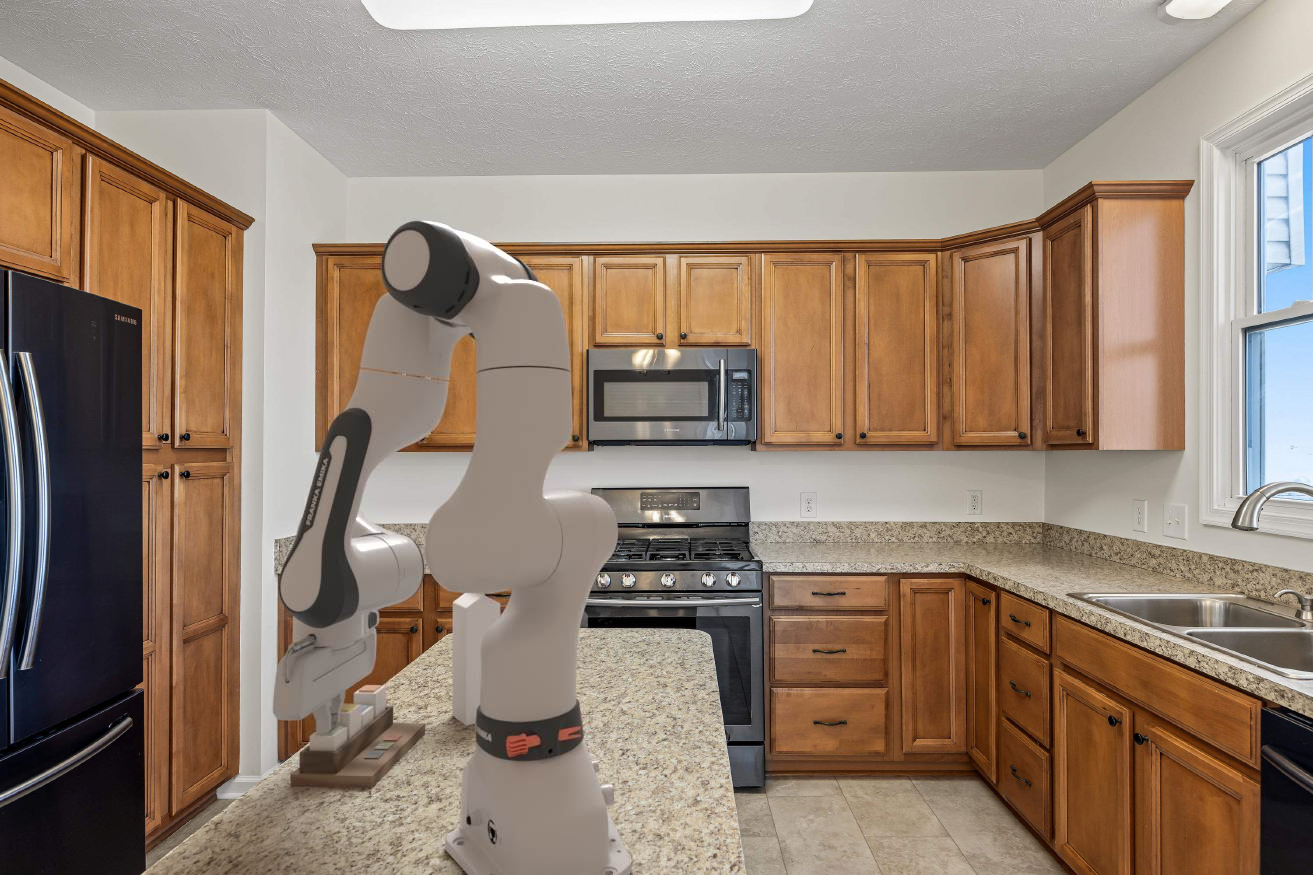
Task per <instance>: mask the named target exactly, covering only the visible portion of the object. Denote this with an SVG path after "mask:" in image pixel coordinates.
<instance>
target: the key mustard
mask: <svg viewBox="0 0 1313 875" xmlns="http://www.w3.org/2000/svg"><path fill="white" fill-rule="evenodd" d="M337 726H342V727H347V741H349V740H350V739H351V738H352V737H354V736H355V735H356V734H357V733H358V732H360V731H361V705H359V704H354V703H345V702H343V705H342V708H341V711H340V723H339V724H338V725H337Z"/></svg>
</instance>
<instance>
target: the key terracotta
mask: <svg viewBox="0 0 1313 875" xmlns="http://www.w3.org/2000/svg"><path fill="white" fill-rule="evenodd" d="M386 690H387V687H386V686H385V685H382V684H380V685H379V684H365V685H363V686H362V687H361V688H359V689H358V690H356V691H355V692H353V704H359V705H369V706H374V719H375V718H377V717H378V716H379V715H380V714H382V713H383V712H384V711H385V710H386V706H387V705H386V703H387V701H386V700H387V699H386V698H387V697H386V696H387V694H386V693H387V692H386Z"/></svg>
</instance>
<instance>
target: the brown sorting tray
mask: <svg viewBox="0 0 1313 875" xmlns="http://www.w3.org/2000/svg"><path fill="white" fill-rule="evenodd" d="M425 734H426V723H425V722H424V723H423V722H417V723H416V722H394V706H391V705H389V706H387V705H386V710H385V711H384V712H383V713H382V714H380V715H379V716H378V717H377V718H375V719H374V720H373V721H372V722H371V723H369V724H368V725H367V726H366V727H364V728H363V729H362V730H361V731H360V732H358V733H357V734H356V735H355V736H354V737H352V738H351V739H350V740H349V741H347V742H346V743H345V744H344V745H343V746H341V747H340V748H339V749H338V750H337V751H309V745H307V746H306V747H305V748H303V749H302V750H301V751H299V766H298V768H297V769H296V770H294V771H292V773H291V774H290V779H289V780H290V784H289V785H290V787H310V788H311V787H316V788H317V787H320V788H328V787H329V788H370V789H373V788H374V786H376V784H378V783H379V781H380V780H381V779H382V778H383V777H384V776H385V775H386V774H387V773H388V772H389V771H390V770H391V769H392V768H393V767H394V766H395V765H396V764H397V762H399V761H400V760H401V759H402V758H403V757H404V756H405V755H406V754H407V753H408V752H409V750H410V749H412V747H413V746H414V745H415V744H416V743H417V742H418V741H419V740H420V739H421V738H422V737H423V736H424V735H425Z"/></svg>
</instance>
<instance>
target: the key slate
mask: <svg viewBox="0 0 1313 875" xmlns="http://www.w3.org/2000/svg"><path fill="white" fill-rule="evenodd" d="M373 720H374V706H369V705H361V730H362V729H363V728H364V727H366V726H367V725H368V724H369V723H371V722H372V721H373Z"/></svg>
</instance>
